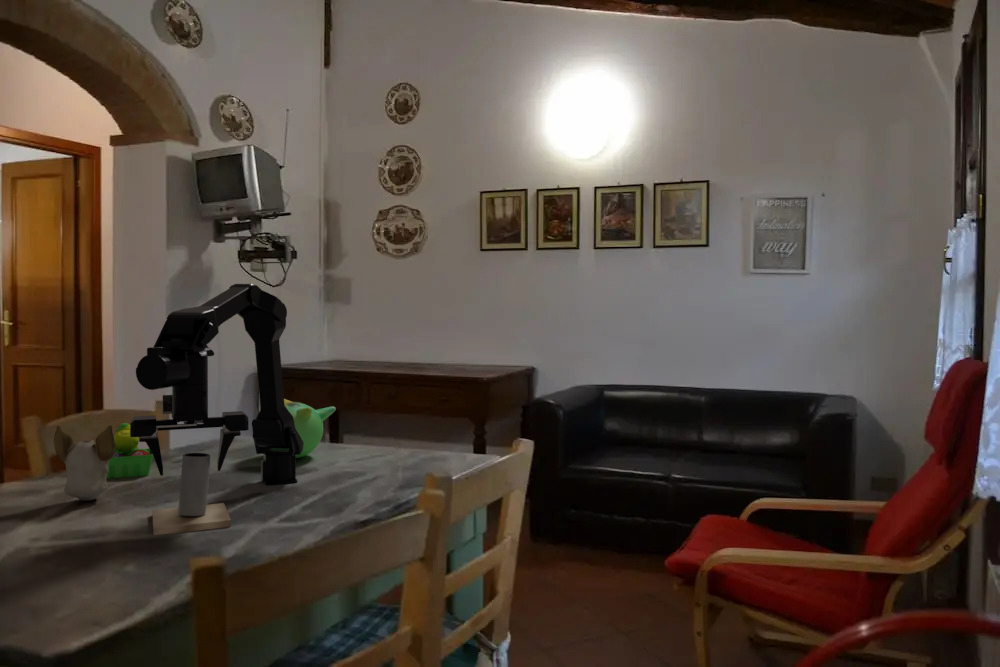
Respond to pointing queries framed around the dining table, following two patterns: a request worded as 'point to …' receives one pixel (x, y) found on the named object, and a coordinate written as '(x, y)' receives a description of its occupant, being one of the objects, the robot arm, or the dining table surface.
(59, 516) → the dining table surface
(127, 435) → the fruit basket
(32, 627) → the dining table surface
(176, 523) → the oak block
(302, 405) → the toy bird
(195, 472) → the grey hollow cylinder
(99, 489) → the white eared plush toy
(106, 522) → the dining table surface
